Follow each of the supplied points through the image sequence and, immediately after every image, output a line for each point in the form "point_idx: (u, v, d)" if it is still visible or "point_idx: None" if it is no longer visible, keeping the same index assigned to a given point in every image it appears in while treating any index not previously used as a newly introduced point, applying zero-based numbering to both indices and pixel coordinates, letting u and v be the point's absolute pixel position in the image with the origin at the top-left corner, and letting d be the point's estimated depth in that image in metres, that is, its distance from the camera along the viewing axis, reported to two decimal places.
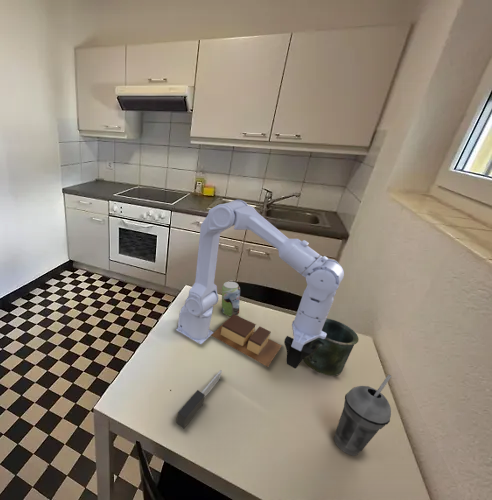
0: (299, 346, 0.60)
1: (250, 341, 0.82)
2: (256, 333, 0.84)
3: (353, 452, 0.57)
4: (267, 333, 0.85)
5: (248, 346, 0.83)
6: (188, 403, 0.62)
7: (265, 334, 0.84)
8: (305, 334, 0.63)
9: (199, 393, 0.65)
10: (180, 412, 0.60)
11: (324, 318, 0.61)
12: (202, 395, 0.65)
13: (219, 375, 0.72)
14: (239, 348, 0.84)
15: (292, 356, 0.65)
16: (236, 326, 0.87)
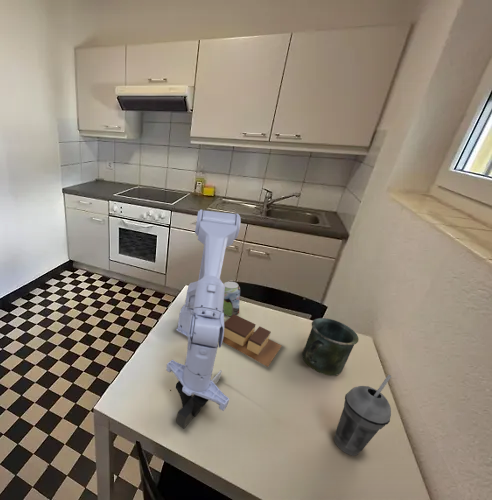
0: None
1: (250, 341, 0.82)
2: (256, 333, 0.84)
3: (353, 452, 0.57)
4: (267, 333, 0.85)
5: (248, 346, 0.83)
6: (188, 403, 0.62)
7: (265, 334, 0.84)
8: (183, 373, 0.61)
9: None
10: (180, 412, 0.60)
11: (187, 368, 0.57)
12: None
13: (219, 375, 0.72)
14: (239, 348, 0.84)
15: None
16: (236, 326, 0.87)
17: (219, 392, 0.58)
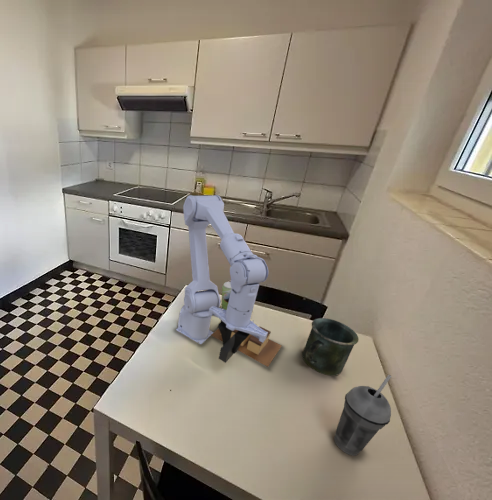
0: None
1: (250, 341, 0.82)
2: None
3: (353, 452, 0.57)
4: None
5: (248, 346, 0.83)
6: (228, 342, 0.71)
7: None
8: (225, 315, 0.70)
9: None
10: (222, 348, 0.69)
11: (231, 306, 0.66)
12: None
13: None
14: (239, 348, 0.84)
15: None
16: None
17: (258, 328, 0.67)
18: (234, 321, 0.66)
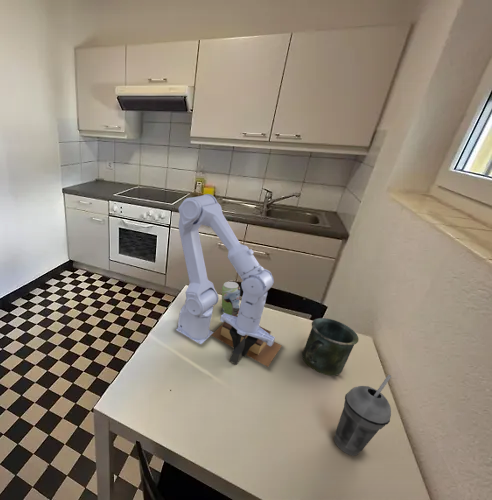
0: None
1: None
2: None
3: (353, 452, 0.57)
4: None
5: None
6: (238, 346, 0.79)
7: None
8: (235, 322, 0.77)
9: None
10: (234, 351, 0.76)
11: (241, 314, 0.73)
12: None
13: None
14: None
15: None
16: None
17: (266, 333, 0.74)
18: (244, 327, 0.73)
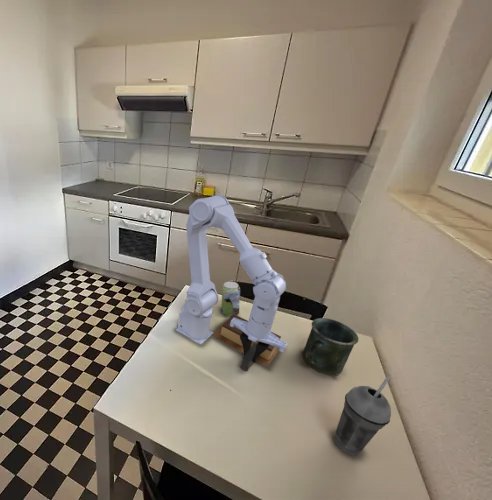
0: None
1: None
2: None
3: (353, 452, 0.57)
4: None
5: None
6: (249, 352, 0.77)
7: None
8: (246, 327, 0.76)
9: None
10: (244, 358, 0.75)
11: (253, 319, 0.71)
12: None
13: None
14: (239, 348, 0.84)
15: None
16: None
17: (278, 339, 0.72)
18: (256, 333, 0.71)
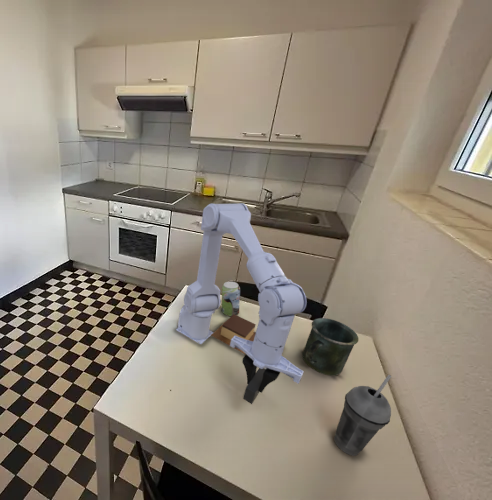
0: None
1: None
2: None
3: (353, 452, 0.57)
4: None
5: None
6: (254, 379, 0.61)
7: None
8: (250, 348, 0.60)
9: (263, 369, 0.64)
10: (248, 387, 0.59)
11: (259, 340, 0.56)
12: None
13: None
14: None
15: None
16: (236, 326, 0.87)
17: (291, 365, 0.56)
18: (263, 357, 0.56)
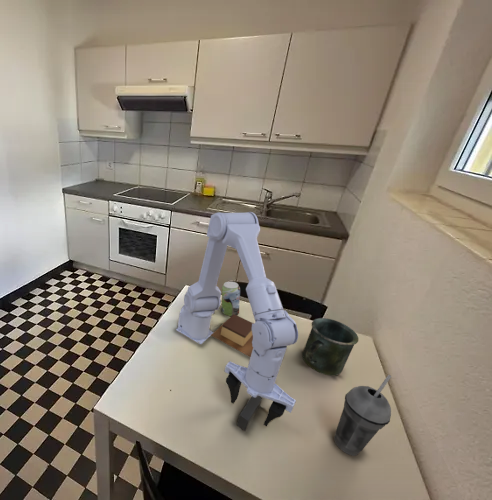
0: None
1: None
2: None
3: (353, 452, 0.57)
4: None
5: None
6: (248, 406, 0.63)
7: None
8: (244, 375, 0.61)
9: None
10: (242, 415, 0.61)
11: (253, 369, 0.57)
12: (260, 398, 0.65)
13: None
14: (239, 348, 0.84)
15: None
16: (236, 326, 0.87)
17: (284, 394, 0.58)
18: (256, 386, 0.57)
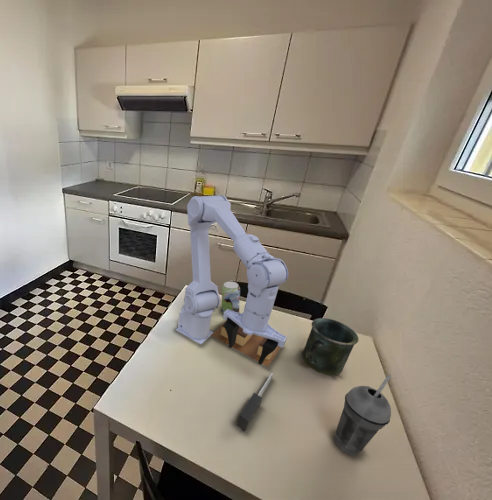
0: None
1: (261, 347, 0.80)
2: (266, 338, 0.82)
3: (353, 452, 0.57)
4: None
5: (258, 351, 0.81)
6: (248, 406, 0.63)
7: None
8: (240, 319, 0.67)
9: (256, 396, 0.65)
10: (242, 415, 0.61)
11: (248, 310, 0.63)
12: (260, 398, 0.65)
13: (271, 377, 0.72)
14: (239, 348, 0.84)
15: None
16: None
17: (276, 333, 0.64)
18: (251, 325, 0.63)
